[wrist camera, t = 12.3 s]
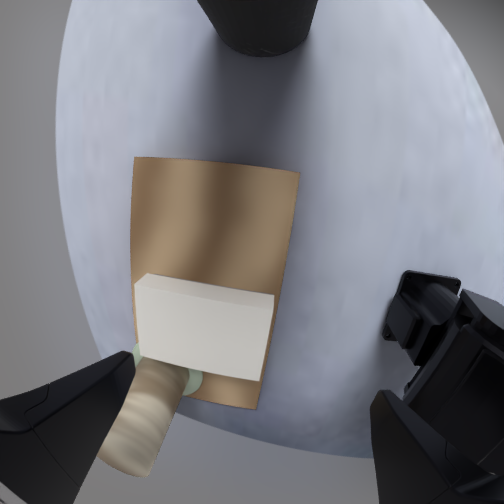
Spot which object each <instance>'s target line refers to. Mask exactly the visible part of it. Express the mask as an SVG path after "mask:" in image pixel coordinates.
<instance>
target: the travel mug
mask: <svg viewBox="0 0 504 504" xmlns="http://www.w3.org/2000/svg"><path fill="white" fill-rule="evenodd" d="M197 1H198V3H199V4H200V6H201V7H202V9H203V10H204V12H205V13H206V15H207V16H208V18H209V20H210V21H211V23H212V24H213V26H214V28H215V29H216V31H217V32H218V34H219V36H220V37H221V38H222V40H223V41H224V42H225V43H226V44H227V45H228V46H229V47H231V48H232V49H234V50H236V51H238V52H240V53H243V54H246V55H250V56H258V57H269V56H275V55H280V54H283V53H286V52H288V51H290V50H292V49H294V48H295V47H297V46H298V45H299V44H300V43H301V42H302V41H303V40H304V39H305V37H306V36H307V34H308V32H309V29H310V26H311V23H312V19H313V16H314V12H315V9H316V5H317V1H318V0H197Z"/></svg>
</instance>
